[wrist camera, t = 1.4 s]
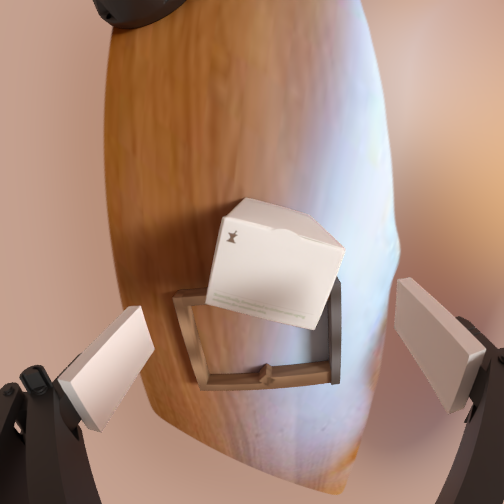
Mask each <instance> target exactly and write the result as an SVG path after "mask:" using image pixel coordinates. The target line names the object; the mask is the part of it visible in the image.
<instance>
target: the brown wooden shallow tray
mask: <svg viewBox="0 0 504 504" xmlns="http://www.w3.org/2000/svg"><path fill="white" fill-rule="evenodd" d="M207 289H208V288H197V289H185V290H178V291H177V293H176V294H175V295H174V297H173V298H172V299H173V303H174V306H175V310H176V314H177V317H178V321H179V324H180V328H181V331H182V335H183V338H184V341H185V345H186V348H187V351H188V354H189V358H190V361H191V364H192V367H193V370H194V373H195V376H196V379H197V382H198V385H199V388H200V391H234V390H260V389H276V388H288V387H299V386H308V385H316V384H324V383H331V385H334V384H340V368H341V283H340V281H339V279H338V277H337V276H336V279H335V281H334V284H333V287H332V289H331V292H330V294H329V297H328V299H327V303H328V343H329V360H328V361H320V362H312V363H304V364H294V365H284V366H270V365H268V364H266V365H265V366H264V367H263V368H262V369H260V373H241V374H209V370H208V367H207V363H206V360H205V356H204V353H203V349H202V346H201V342H200V338H199V335H198V331H197V327H196V323H195V319H194V316H193V312H192V308H191V306H195V305H209V304H206V303H205V301H206V295H207Z"/></svg>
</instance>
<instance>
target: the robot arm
mask: <svg viewBox="0 0 504 504" xmlns="http://www.w3.org/2000/svg"><path fill="white" fill-rule="evenodd" d="M185 1H186V0H93V2H94V4H95V6H96V9H97V11H98V13H99V15H100V16H101V18H102V19H104V20H105V21H106V22H108V23H109V24H110V25H112V26H114V27H117V28H123V29H130V28H137V27H141V26H145V25H148V24H150V23H153V22H155V21H157V20H159V19H161V18H163V17H165V16H167V15H168V14H170V13H171V12H173V11H174V10H176V9H177V8H178V7H179V6H181V5H182V4H183V3H184V2H185ZM394 328H395V330H396V331H397V333H398V334H399V336H400V337H401V339H402V340H403V342H404V343H405V345H406V346H407V348H408V350H409V351H410V352H411V354H412V356H413V357H414V359H415V360H416V362H417V363H418V365H419V367H420V368H421V370H422V372H423V373H424V375H425V376H426V378H427V380H428V381H429V383H430V384H431V386H432V388H433V389H434V391H435V393H436V395H437V396H438V398H439V400H440V401H441V403H442V405H443V407H444V408H445V410H446V412H447V414H451V413H453V412H456V411H458V410H461V409H463V408H464V407H465V405H466V402H467V400H468V398H469V397H470V399H471V400H472V402H473V405H472V407H471V409H470V411H469V413H468V415H467V417H466V419H465V421H464V423H467V424H466V427H465V431H464V434H463V437H462V440H461V443H460V446H459V449H458V452H457V454H456V457H455V460H454V463H453V465H452V468H451V470H450V473H449V475H448V477H447V480H446V482H445V484H444V486H443V488H442V491H441V493H440V495H439V497H438V499H437V501H436V503H435V504H502V503H503V500H504V348H500V349H497V348H496V347H495V346H494V345H493V344H492V343H491V342H490V341H489V340H488V339H487V338H486V337H485V336H484V335H483V334H482V333H480V331H479V330H478V329H477V328H475V326H474V325H473V324H472V323H471V322H469V321H468V320H466V319H464V318H462V317H459V316H458V317H454V316H453V315H452V314H451V313H449V311H448V310H446V309H445V308H444V307H443V306H442V305H441V304H440V303H439V302H438V301H437V300H436V299H434V298H433V297H432V296H431V295H430V294H429V293H428V292H427V291H425V290H424V289H423V288H422V287H421V286H420V285H419V284H418V283H416V282H415V281H414V280H413V279H412V278H410V277H409V278H403V279H398V280H397V296H396V310H395V322H394ZM153 351H154V346H153V343H152V340H151V337H150V334H149V331H148V328H147V325H146V322H145V319H144V315H143V312H142V309H141V306H129V307H128V308H127V309H126V310H125V311H123V312H122V313H121V314H120V316H118V317H117V318H116V320H114V321H113V322H112V323H111V324H110V325H109V326H108V327H107V328H106V329H105V330H104V331H103V332H102V333H101V334H100V335H99V336H98V338H96V339H95V340H94V341H93V342H92V343H91V344H90V345H89V346H88V348H86V349H85V350H84V352H83V353H81V354H79V355H78V356H77V357H76V358H75V359H74V360H73V361H72V362H71V363H70V364H69V365H68V368H67V367H66V369H64V370H63V372H62V373H61V374H60V375H59V376H58V377H57V378H56V379H55V380H54V381H53V382H51V380H50V378H49V376H48V374H47V372H46V371H45V369H44V367H43V366H41V365H34V366H31V367H29V368H27V369H25V370H24V371H23V372H22V373H21V374H20V377H19V378H20V380H21V381H22V383H23V385H24V387H25V388H26V390H27V392H23V391H22V390H21V388H20V386H19V385H18V384H17V383H13V382H12V383H8V384H7V385H6V384H5V385H4V386H3V387H2V388H1V389H0V504H102V503H101V500H100V497H99V494H98V491H97V489H96V485H95V482H94V478H93V475H92V472H91V468H90V464H89V461H88V457H87V453H86V448H85V444H84V439H83V435H82V430H81V428H80V426H79V425H78V423H79V422H80V421H81V419H82V421H83V422H84V424H85V425H86V426H87V428H88V429H90V430H94V431H97V432H102V431H103V429H104V428H105V426H106V424H107V423H108V421H109V419H110V418H111V416H112V415H113V413H114V411H115V410H116V408H117V407H118V405H119V404H120V402H121V400H122V398H123V397H124V396H125V394H126V393H127V391H128V389H129V388H130V386H131V385H132V383H133V382H134V380H135V378H136V377H137V375H138V374H139V372H140V371H141V369H142V368H143V366H144V365H145V363H146V362H147V360H148V358H149V357H150V355H151V354H152V352H153ZM15 422H16V423H17V425H18V426H19V427H20V429H21V433H18V431H17V430H16V429H15V428H14V423H15Z"/></svg>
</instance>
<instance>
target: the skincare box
mask: <svg viewBox="0 0 504 504" xmlns="http://www.w3.org/2000/svg"><path fill="white" fill-rule="evenodd" d="M345 250H346V249H345V248H344V247H343V246H342V245H341V244H340V243H339V242H338V241H337V240H336V239H335V238H334V237H333V236H332V235H331V234H330V233H328V232H327V231H326V230H325V229H324V228H323V227H322V226H321V225H320V224H319V223H318V222H317V221H316V220H315V219H314V218H313V217H312V216H311V215H308V214H306V213H303V212H299V211H296V210H292V209H289V208H285V207H282V206H278V205H275V204H271V203H267V202H263V201H259V200H255V199H251V198H244V199H243V200H242V201H241V202H240V203H239V204H238V205H237V206H236V207H235V208H234V209H233V210H232V211H231V212H230V213H229V214H228V215H226V216H225V217H222V221H221V225H220V230H219V234H218V239H217V243H216V248H215V253H214V258H213V263H212V268H211V274H210V279H209V284H208V289H207V295H206V301H205V303H206V304H209V305H212V306H216V307H220V308H224V309H228V310H231V311H235V312H239V313H243V314H246V315H250V316H254V317H258V318H263V319H267V320H270V321H274V322H279V323H283V324H287V325H292V326H296V327H301V328H306V329H310V330H315V327H316V325H317V323H318V321H319V318H320V316H321V314H322V311H323V309H324V307H325V304H326V302H327V299H328V297H329V294H330V292H331V289H332V287H333V284H334V281H335V279H336V276H337V273H338V270H339V268H340V265H341V262H342V259H343V257H344V254H345Z"/></svg>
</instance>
